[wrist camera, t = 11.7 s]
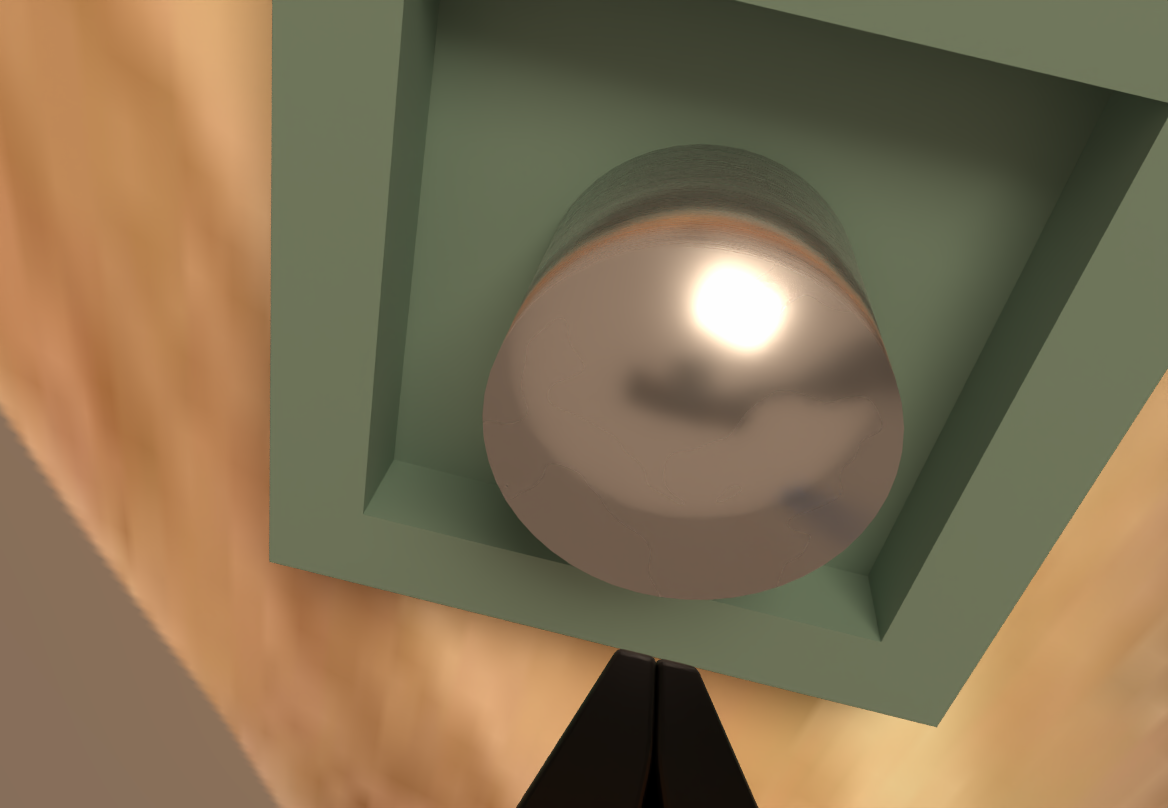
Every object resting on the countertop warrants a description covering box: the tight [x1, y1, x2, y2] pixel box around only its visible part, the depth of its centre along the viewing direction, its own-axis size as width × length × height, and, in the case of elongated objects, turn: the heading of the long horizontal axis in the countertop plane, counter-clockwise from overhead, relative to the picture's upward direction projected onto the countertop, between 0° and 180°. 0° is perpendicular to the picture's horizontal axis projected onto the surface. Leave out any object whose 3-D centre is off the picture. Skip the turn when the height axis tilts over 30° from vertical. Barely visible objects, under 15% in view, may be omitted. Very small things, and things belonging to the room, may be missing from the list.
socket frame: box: [269, 0, 1168, 727], centre depth 16 cm, size 15×15×3 cm
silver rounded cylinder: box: [482, 144, 904, 600], centre depth 15 cm, size 6×6×5 cm
